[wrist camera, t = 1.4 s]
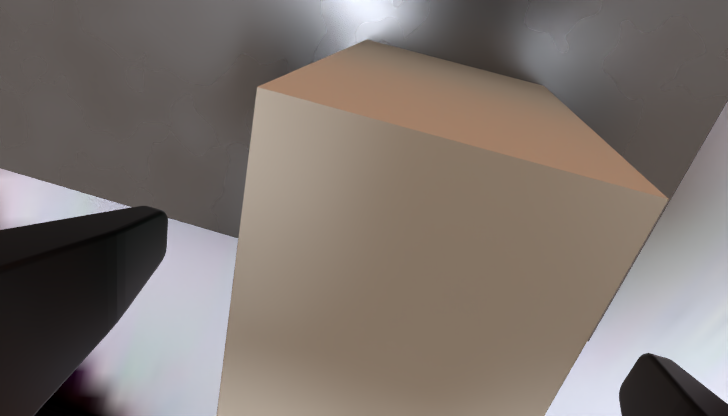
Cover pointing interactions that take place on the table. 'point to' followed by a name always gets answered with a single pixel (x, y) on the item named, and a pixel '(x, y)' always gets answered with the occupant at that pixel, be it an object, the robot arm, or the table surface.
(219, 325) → the table surface
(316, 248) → the tea box
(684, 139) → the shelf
